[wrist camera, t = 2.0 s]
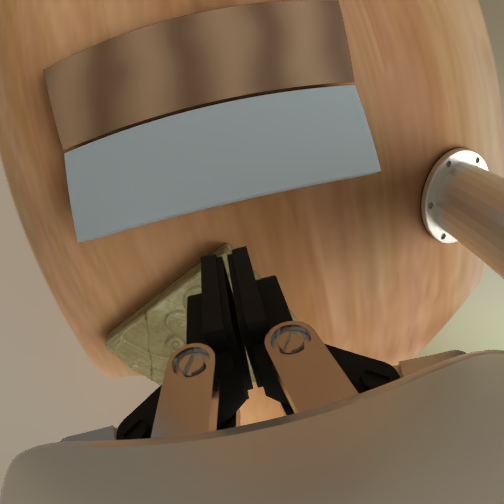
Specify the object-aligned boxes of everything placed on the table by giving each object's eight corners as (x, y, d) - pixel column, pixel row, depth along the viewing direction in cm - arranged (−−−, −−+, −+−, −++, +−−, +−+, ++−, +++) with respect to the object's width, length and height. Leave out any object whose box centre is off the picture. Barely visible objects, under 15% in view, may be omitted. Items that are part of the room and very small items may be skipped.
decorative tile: (106, 331, 35) (100, 350, 32) (225, 237, 31) (228, 254, 28) (203, 396, 44) (204, 415, 41) (314, 333, 40) (321, 352, 37)
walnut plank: (329, 6, 21) (338, 0, 19) (343, 82, 25) (354, 81, 23) (54, 70, 20) (43, 70, 18) (73, 145, 24) (63, 150, 22)
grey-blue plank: (347, 93, 25) (354, 85, 23) (371, 174, 25) (381, 170, 23) (74, 157, 24) (64, 153, 22) (88, 241, 25) (77, 242, 23)
